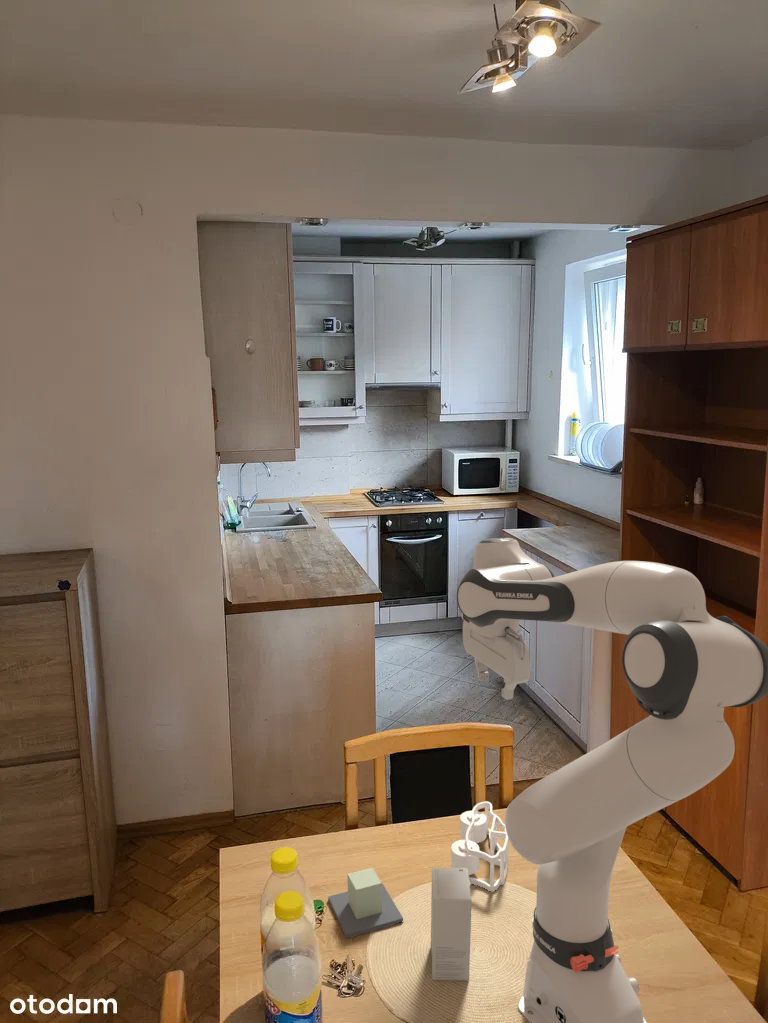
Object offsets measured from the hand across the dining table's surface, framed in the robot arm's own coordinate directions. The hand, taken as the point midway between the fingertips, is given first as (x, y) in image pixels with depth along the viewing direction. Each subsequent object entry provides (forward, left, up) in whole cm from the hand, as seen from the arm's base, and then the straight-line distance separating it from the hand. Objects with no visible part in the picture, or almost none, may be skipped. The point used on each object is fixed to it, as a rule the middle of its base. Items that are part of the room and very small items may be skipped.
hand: (494, 688), depth 148 cm
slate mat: (-1, +28, -39) cm, 48 cm away
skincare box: (-19, +19, -39) cm, 48 cm away
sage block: (-1, +28, -38) cm, 47 cm away
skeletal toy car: (+5, 0, -40) cm, 40 cm away
